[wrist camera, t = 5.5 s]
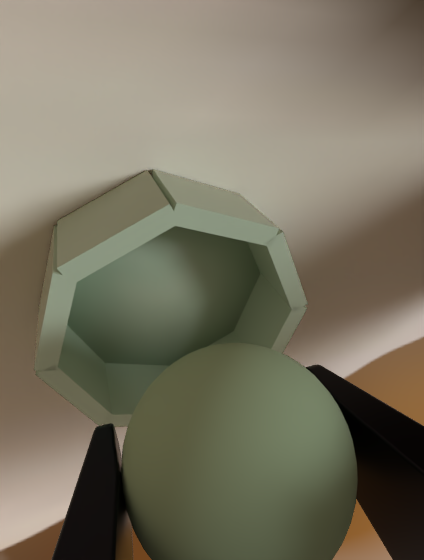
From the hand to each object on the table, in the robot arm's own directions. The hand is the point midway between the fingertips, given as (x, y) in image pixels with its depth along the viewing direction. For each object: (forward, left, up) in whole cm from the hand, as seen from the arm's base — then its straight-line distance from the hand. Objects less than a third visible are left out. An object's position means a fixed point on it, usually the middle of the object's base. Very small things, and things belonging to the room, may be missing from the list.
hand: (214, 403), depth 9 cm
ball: (0, 0, +2) cm, 2 cm away
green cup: (0, 0, -6) cm, 6 cm away
